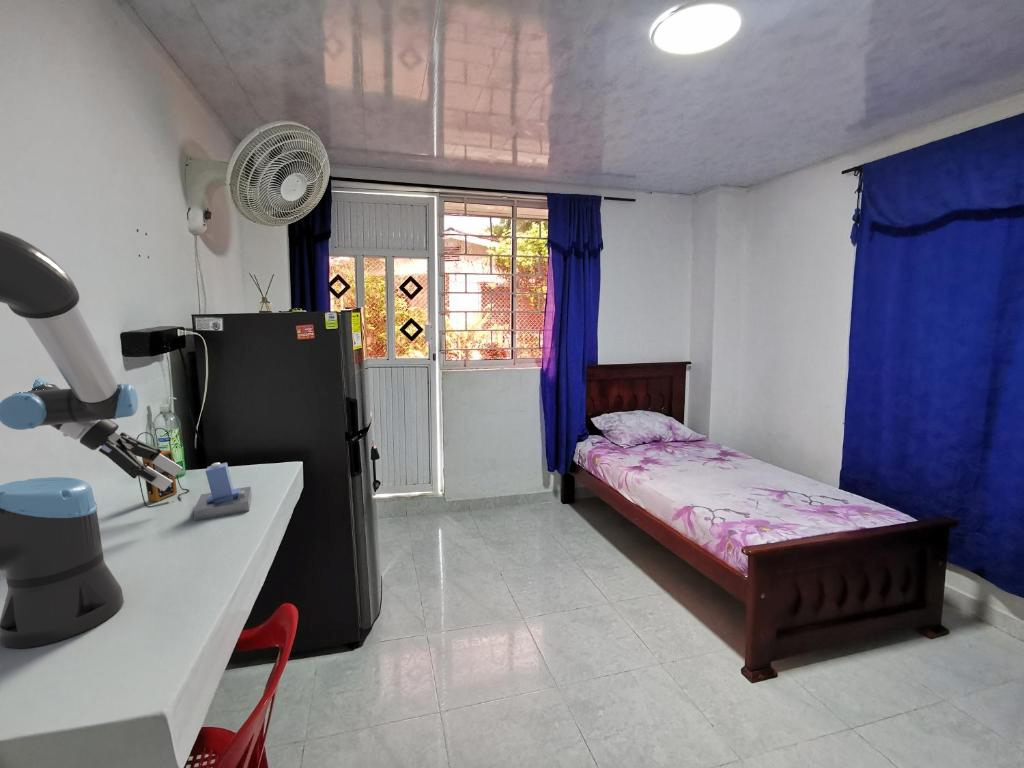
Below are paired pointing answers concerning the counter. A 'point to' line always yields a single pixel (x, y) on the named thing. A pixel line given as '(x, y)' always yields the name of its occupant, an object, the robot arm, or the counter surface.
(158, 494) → the multimeter
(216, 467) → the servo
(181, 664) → the counter surface
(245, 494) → the plate
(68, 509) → the robot arm
